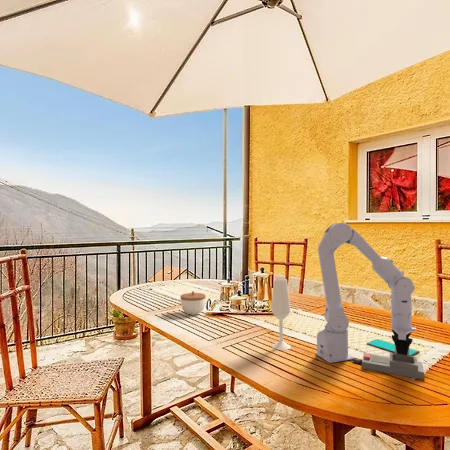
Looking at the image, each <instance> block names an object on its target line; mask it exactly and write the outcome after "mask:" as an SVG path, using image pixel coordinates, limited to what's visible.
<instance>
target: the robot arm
mask: <svg viewBox="0 0 450 450" xmlns="http://www.w3.org/2000/svg"><path fill="white" fill-rule="evenodd" d="M343 244H347V245H351V246H353V247H355V248H356V249H357V250H358V251H359V252H360V253H361V254H362V256H365V258H366V259H368V261H370V262H371V263H372V264H371V265H372V267H371V268H372V270H373V271H374V272H375V273H376V274H377V275H378V276H379V277H380V278H381V279H382V280H383V281H384V282H385V284H387V286H388V288H389V289H390V290H391V294H390V295H391V297H390V307H391V310H390V311H391V313H390V314H391V315H390V316H391V325H390V329H391V332H392V333H393V334H391V339H392V341H393V344H395V346H396V350H397V354H402V355H407V354H408V349H409V348H410V346H411V344H413V338H410V336H411V335H412V332H417V328H416V327H415V326H414V327H413V324H412V323H413V322H412V321H413V316H412V313H413V312H412V310H413V309H412V305H413V304H412V294H413V293H414V291H415V287H416V286H415V285H414V283H413V280H412V279H411V278H409V277H407V276H405V275H404V274H405V272H404V271H403V270H400V269H399V268H398V267H397V266H396V265H395V264H394V260H393V259H392V258H388V257H386V256H381V255H379V253H378V252H377V251H376V250H375V249H374V248H373V247H372V246H371V245H370V244H369V242H367V241H366V239H365V238H363V236H362V235H361V234H359V232H358V231H356V230H355V229H353V228H352V227H351V226H350V225H349V224H348V223H345V222H335V223H332V224H331V225H329V226H328V228H327V229H326V230H325V231H324V233H323V236H322V238H321V240H320V243H319V245H318V246H317V252H318V260H319V264H320V271H321V277H322V284H323V291H324V298H325V310H324V314H323V315H324V319H325V321H326V323H325V325H324V329H322V330H320V331H318V332H317V335H316V352H315V354H316V356H319V357H320V358H322V359H323V360H325V361H326V362H328V363H329V364H330V363H331V364H332V363H337V362H344V361H349V360H351V361H353V359H355V357H354V356H352V355H350V354H349V332H348V331H349V330H348V328H349V326H350V325H349V323H350V321H349V318H348V316H347V315H346V312H345V310H344V306H343V303H342V299H341V298H342V297H341V293H340V286H339V280H338V273H337V267H336V261H335V252H336V251H337V250H338V248H339V247H340V246H341V245H343Z"/></svg>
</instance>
